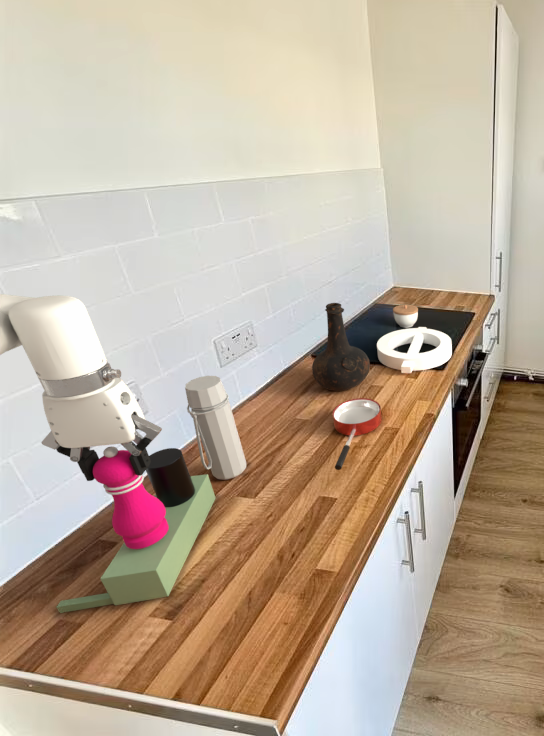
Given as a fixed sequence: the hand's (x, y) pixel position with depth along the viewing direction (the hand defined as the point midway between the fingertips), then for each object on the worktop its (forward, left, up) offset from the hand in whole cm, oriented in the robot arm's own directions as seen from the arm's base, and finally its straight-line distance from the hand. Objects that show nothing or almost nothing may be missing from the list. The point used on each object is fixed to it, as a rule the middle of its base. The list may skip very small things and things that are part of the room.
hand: (119, 471), depth 72 cm
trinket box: (+49, +114, -23) cm, 126 cm away
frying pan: (+33, +31, -23) cm, 51 cm away
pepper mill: (0, 0, -15) cm, 15 cm away
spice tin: (+1, +11, -16) cm, 19 cm away
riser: (-4, +5, -23) cm, 24 cm away
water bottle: (+4, +25, -23) cm, 34 cm away
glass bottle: (+27, +65, -23) cm, 74 cm away
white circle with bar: (+52, +84, -23) cm, 101 cm away
